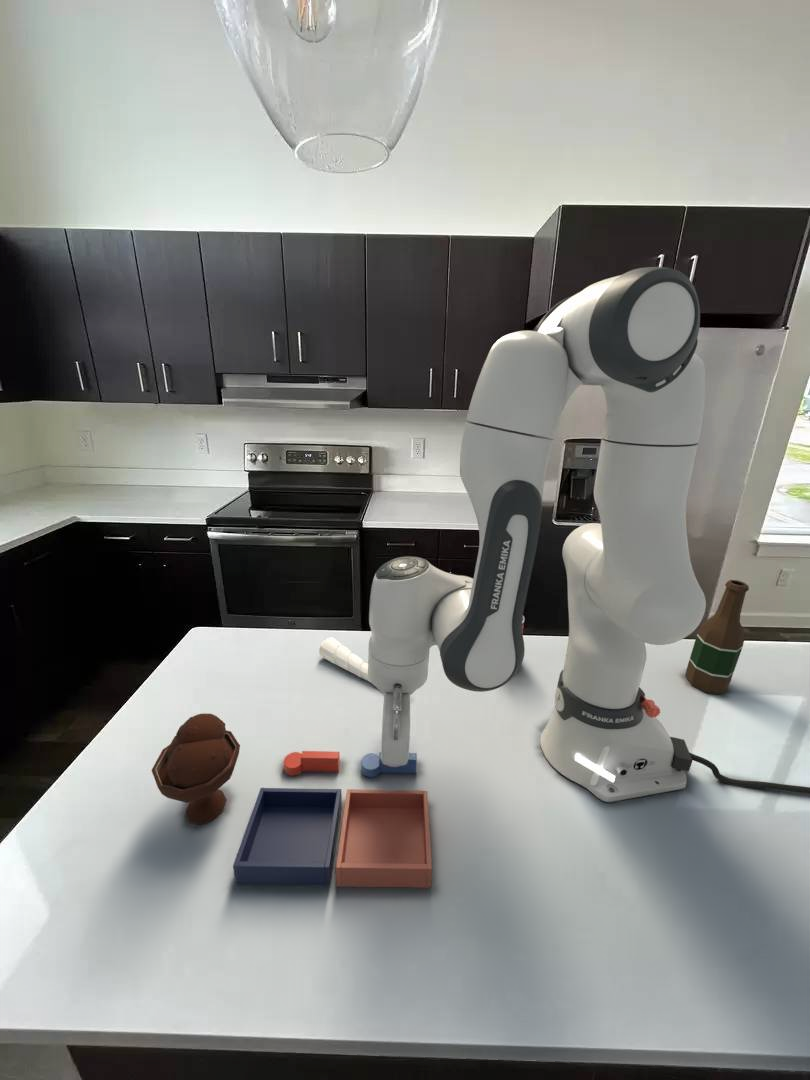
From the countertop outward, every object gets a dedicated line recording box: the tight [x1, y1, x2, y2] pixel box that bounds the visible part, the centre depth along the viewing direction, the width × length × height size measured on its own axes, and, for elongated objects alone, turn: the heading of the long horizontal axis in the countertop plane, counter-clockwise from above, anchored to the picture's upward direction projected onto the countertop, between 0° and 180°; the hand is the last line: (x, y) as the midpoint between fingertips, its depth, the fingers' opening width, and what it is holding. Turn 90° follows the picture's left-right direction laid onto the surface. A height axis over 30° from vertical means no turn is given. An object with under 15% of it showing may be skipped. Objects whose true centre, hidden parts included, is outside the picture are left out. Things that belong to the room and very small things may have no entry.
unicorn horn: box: [318, 636, 371, 683], centre depth 90 cm, size 5×24×5 cm, turn 49°
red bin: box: [335, 788, 433, 889], centre depth 57 cm, size 12×11×4 cm
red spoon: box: [283, 750, 341, 777], centre depth 69 cm, size 9×3×3 cm, turn 90°
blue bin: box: [232, 787, 343, 887], centre depth 57 cm, size 12×11×4 cm
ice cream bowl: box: [151, 712, 241, 826], centre depth 60 cm, size 11×11×15 cm
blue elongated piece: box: [360, 751, 418, 778], centre depth 69 cm, size 9×3×3 cm, turn 90°
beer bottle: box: [684, 579, 750, 696], centre depth 87 cm, size 8×8×24 cm
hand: (394, 737), depth 67 cm, fingers open, 8 cm apart
